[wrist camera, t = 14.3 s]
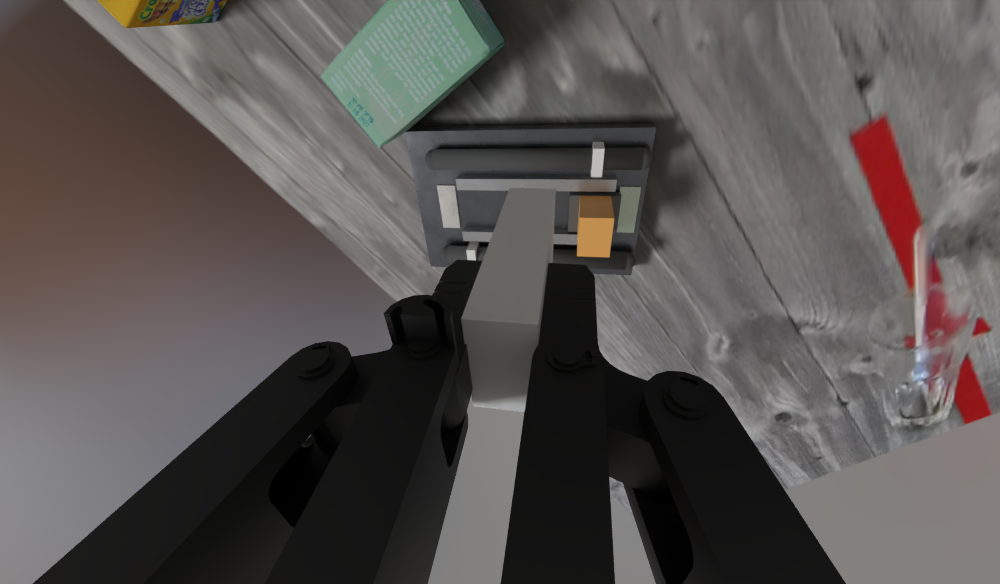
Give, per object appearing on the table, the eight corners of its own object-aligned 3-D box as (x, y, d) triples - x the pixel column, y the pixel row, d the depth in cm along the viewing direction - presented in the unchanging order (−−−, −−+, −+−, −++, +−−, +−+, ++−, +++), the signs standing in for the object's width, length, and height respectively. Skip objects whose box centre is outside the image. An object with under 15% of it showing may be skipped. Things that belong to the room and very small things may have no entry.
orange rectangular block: (569, 191, 40) (568, 217, 35) (620, 192, 39) (626, 218, 34) (568, 227, 42) (566, 255, 37) (615, 228, 41) (620, 257, 36)
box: (510, 41, 35) (495, 49, 29) (408, 131, 41) (378, 152, 35) (458, -44, 32) (429, -55, 26) (357, 66, 38) (315, 77, 32)
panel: (412, 126, 41) (400, 134, 38) (653, 122, 37) (658, 130, 34) (435, 257, 50) (427, 271, 48) (629, 265, 46) (632, 281, 43)
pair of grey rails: (426, 143, 40) (418, 150, 38) (653, 140, 36) (657, 148, 34) (445, 257, 48) (439, 268, 46) (632, 265, 44) (634, 277, 42)
